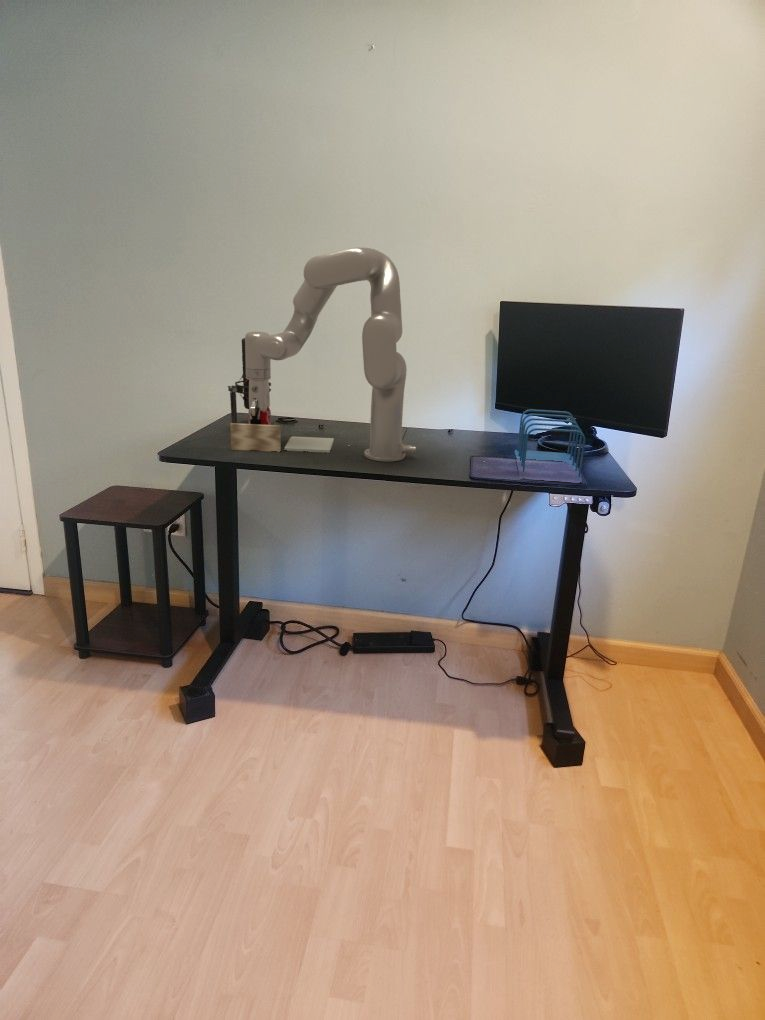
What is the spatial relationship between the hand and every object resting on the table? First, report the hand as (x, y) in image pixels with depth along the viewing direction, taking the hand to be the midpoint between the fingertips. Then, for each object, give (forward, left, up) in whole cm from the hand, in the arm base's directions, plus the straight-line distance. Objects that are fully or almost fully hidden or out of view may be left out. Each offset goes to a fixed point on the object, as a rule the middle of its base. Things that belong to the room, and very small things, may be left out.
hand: (259, 427), depth 207 cm
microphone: (+6, -18, -5) cm, 19 cm away
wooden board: (-1, +9, -5) cm, 10 cm away
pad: (-16, +1, -5) cm, 17 cm away
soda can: (0, 0, -5) cm, 5 cm away
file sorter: (-89, +14, -5) cm, 90 cm away
